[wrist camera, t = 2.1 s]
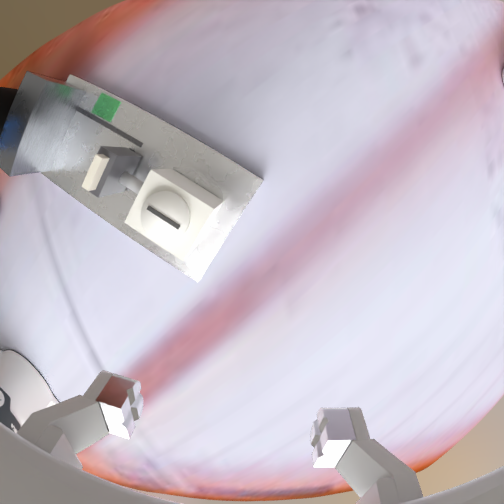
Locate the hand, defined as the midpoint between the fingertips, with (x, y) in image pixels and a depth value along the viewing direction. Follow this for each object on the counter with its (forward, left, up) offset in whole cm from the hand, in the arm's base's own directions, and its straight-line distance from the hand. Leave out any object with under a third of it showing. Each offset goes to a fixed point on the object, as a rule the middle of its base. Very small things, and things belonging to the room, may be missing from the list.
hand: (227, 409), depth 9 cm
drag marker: (0, +15, -19) cm, 25 cm away
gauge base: (0, +16, -21) cm, 27 cm away
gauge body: (0, +9, -19) cm, 22 cm away
